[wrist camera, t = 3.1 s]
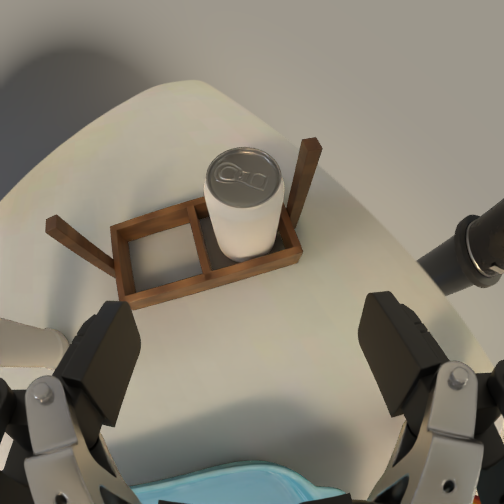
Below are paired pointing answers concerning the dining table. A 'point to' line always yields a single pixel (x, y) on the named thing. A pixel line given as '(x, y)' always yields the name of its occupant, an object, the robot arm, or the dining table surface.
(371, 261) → the dining table surface
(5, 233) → the dining table surface
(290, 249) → the frame
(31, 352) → the bottle
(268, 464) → the casserole dish
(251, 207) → the can
